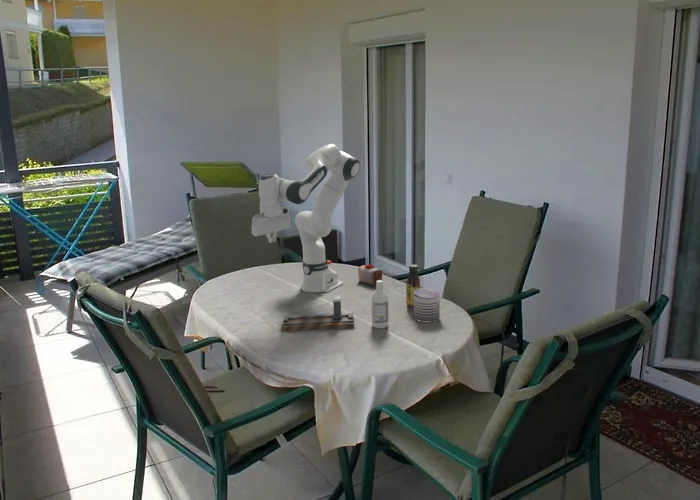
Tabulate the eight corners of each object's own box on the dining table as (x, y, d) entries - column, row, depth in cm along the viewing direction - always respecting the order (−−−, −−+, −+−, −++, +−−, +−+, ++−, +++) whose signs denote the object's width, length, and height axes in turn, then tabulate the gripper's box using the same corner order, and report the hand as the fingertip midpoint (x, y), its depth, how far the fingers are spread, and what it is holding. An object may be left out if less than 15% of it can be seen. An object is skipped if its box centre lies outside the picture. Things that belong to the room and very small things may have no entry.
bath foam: (391, 327, 271) (391, 282, 266) (376, 330, 268) (376, 284, 263) (383, 321, 277) (382, 277, 272) (369, 324, 274) (368, 280, 269)
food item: (356, 281, 334) (355, 263, 331) (367, 278, 339) (367, 260, 336) (373, 287, 323) (372, 268, 321) (384, 284, 328) (384, 265, 326)
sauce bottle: (405, 304, 297) (405, 263, 292) (418, 303, 298) (418, 262, 293) (407, 309, 291) (407, 267, 286) (421, 308, 292) (421, 266, 286)
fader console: (283, 331, 269) (282, 323, 268) (284, 321, 281) (283, 313, 280) (354, 328, 271) (354, 320, 270) (352, 317, 282) (352, 310, 281)
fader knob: (333, 321, 273) (332, 299, 270) (332, 316, 278) (331, 295, 275) (342, 320, 273) (341, 299, 271) (341, 316, 278) (341, 295, 276)
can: (424, 311, 288) (424, 286, 285) (444, 317, 280) (445, 291, 277) (408, 318, 280) (408, 292, 277) (428, 324, 273) (428, 297, 270)
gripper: (256, 216, 270) (258, 247, 274) (291, 208, 285) (293, 238, 288) (247, 214, 274) (249, 245, 278) (282, 206, 289) (283, 236, 292)
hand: (272, 242), depth 283 cm, fingers closed
